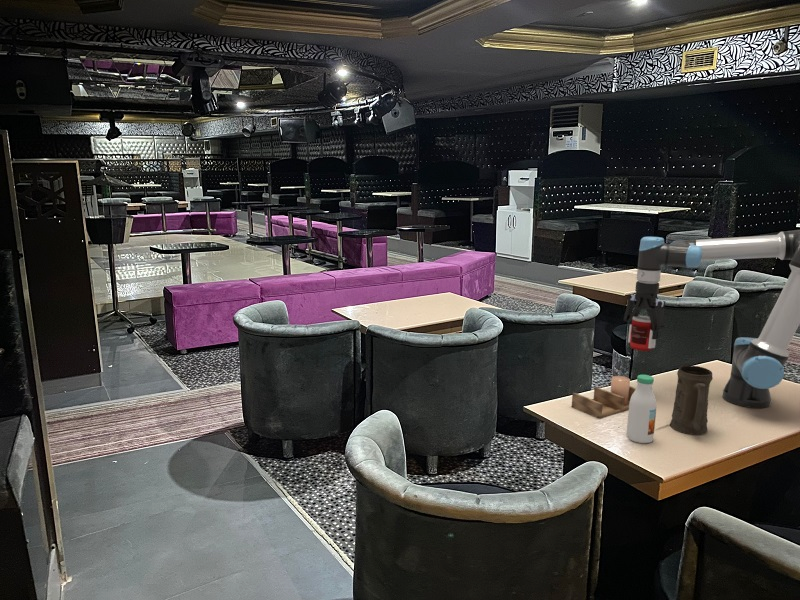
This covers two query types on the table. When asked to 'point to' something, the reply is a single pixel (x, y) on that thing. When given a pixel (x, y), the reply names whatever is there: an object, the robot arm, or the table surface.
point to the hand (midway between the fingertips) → (641, 344)
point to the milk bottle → (642, 411)
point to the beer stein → (691, 400)
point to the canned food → (640, 333)
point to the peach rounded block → (621, 387)
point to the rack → (601, 403)
